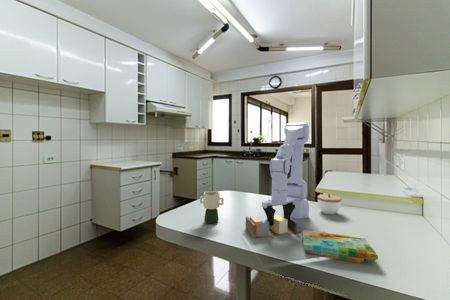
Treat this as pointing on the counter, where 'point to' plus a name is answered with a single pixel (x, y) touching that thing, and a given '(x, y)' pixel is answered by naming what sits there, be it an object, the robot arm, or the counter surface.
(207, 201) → the character mug
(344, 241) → the puzzle game
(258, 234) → the row books
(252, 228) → the shelf tray
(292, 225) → the bookend
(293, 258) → the counter surface
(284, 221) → the pale yellow upright block
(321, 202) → the lidded jar
